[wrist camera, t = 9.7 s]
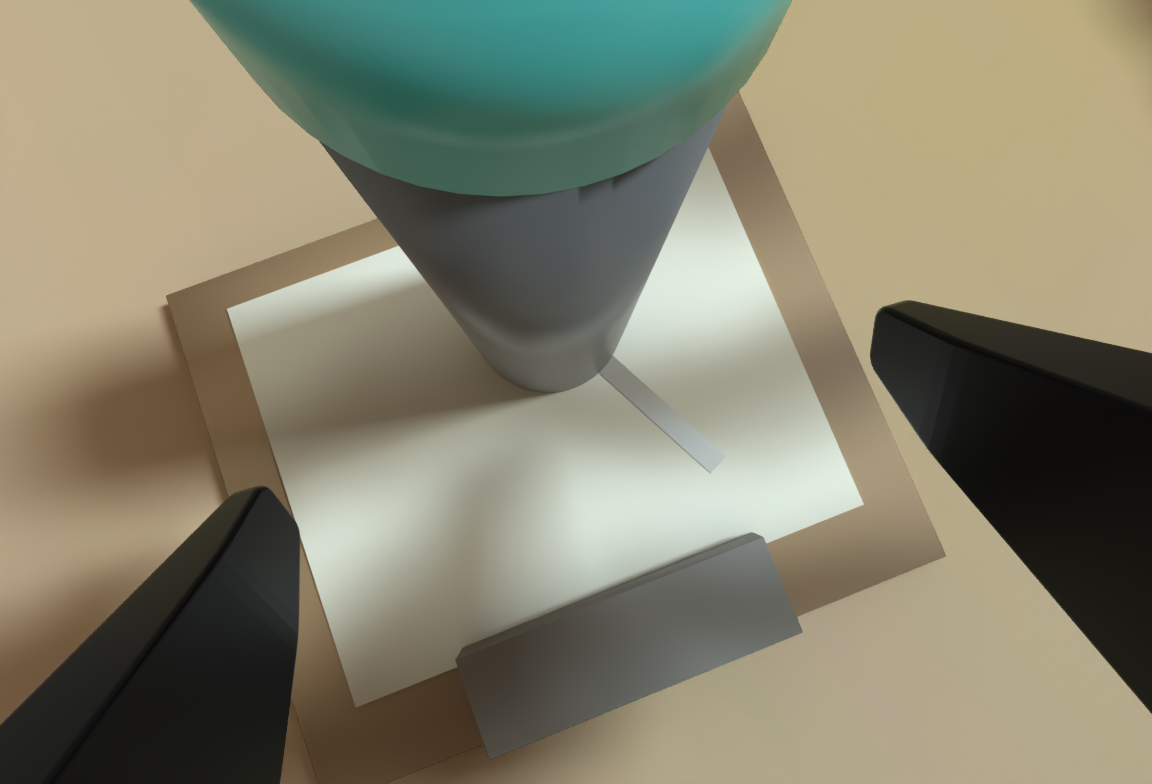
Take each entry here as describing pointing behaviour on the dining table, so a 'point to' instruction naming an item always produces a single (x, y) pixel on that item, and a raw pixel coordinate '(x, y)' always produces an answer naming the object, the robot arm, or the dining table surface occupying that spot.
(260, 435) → the clipboard
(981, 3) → the dining table surface
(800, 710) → the dining table surface
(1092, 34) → the dining table surface
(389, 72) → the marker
